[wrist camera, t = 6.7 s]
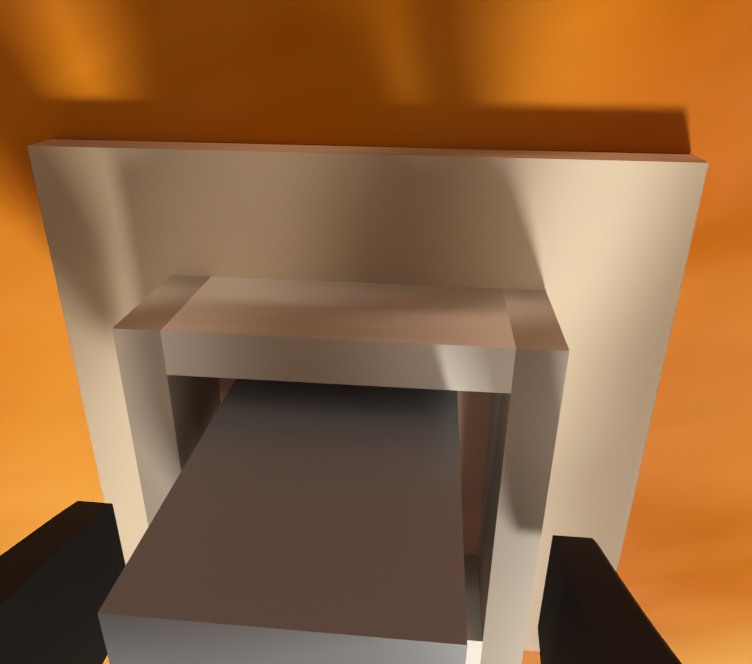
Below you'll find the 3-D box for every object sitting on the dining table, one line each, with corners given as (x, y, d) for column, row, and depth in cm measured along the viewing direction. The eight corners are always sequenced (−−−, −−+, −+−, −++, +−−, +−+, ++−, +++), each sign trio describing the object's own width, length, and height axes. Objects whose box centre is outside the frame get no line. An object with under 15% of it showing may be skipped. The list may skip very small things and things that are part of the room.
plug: (456, 357, 13) (467, 645, 7) (444, 517, 14) (445, 858, 8) (254, 347, 13) (97, 612, 7) (267, 505, 15) (149, 825, 9)
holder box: (692, 154, 11) (779, 198, 9) (590, 629, 17) (623, 760, 14) (50, 138, 12) (-72, 173, 9) (142, 591, 18) (81, 706, 15)
